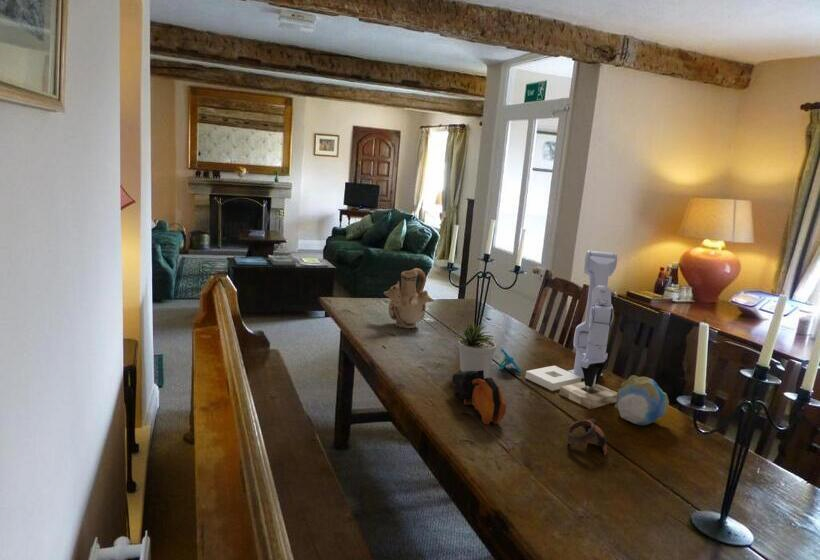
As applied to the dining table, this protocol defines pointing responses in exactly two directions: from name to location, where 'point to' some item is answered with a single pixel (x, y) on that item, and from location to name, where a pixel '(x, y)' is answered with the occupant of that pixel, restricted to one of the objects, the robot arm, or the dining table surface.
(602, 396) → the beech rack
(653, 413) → the decorative rock
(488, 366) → the potted plant
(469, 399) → the tool
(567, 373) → the socket block
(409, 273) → the ceramic vessel
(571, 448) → the dining table surface
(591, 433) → the pottery mug
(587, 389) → the steel peg
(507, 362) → the blue irregular piece
